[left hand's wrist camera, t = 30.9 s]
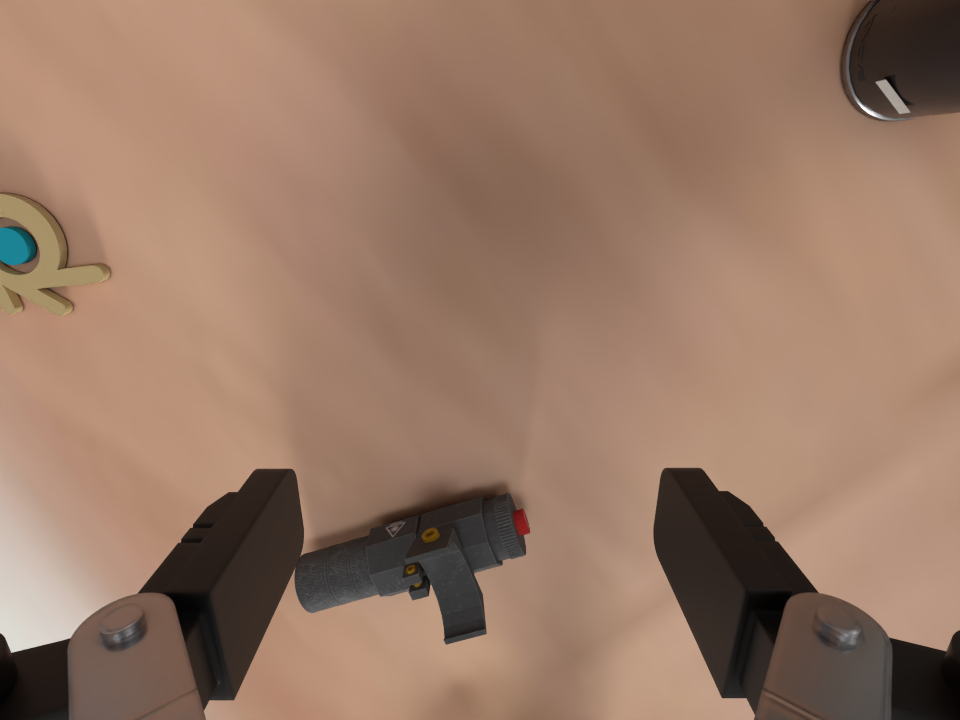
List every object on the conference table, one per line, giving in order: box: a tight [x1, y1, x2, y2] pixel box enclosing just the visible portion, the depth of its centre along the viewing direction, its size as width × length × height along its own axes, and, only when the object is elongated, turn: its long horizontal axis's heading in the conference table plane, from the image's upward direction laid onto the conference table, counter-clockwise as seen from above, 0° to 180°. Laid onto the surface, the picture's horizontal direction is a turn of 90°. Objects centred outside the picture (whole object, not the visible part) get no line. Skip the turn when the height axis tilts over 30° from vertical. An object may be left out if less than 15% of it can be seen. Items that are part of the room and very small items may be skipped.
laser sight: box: [295, 493, 530, 644], centre depth 49 cm, size 10×22×10 cm, turn 109°
